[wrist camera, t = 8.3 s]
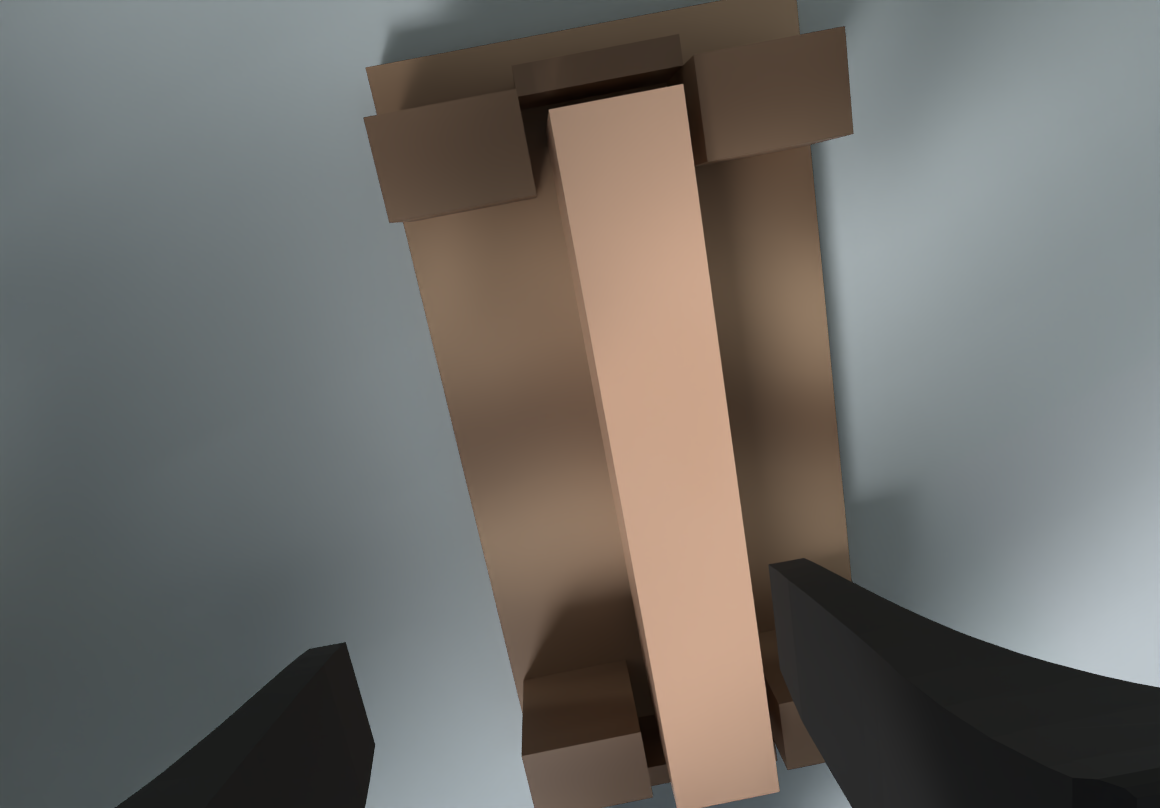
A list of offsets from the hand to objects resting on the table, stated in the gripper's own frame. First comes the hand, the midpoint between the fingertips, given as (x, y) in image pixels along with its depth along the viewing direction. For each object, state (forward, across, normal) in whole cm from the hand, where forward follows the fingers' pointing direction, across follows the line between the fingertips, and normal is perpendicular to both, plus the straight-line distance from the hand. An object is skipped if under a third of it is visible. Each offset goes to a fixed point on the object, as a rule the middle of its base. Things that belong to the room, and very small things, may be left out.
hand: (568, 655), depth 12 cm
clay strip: (+8, -3, -1) cm, 8 cm away
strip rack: (+9, -3, -1) cm, 9 cm away
